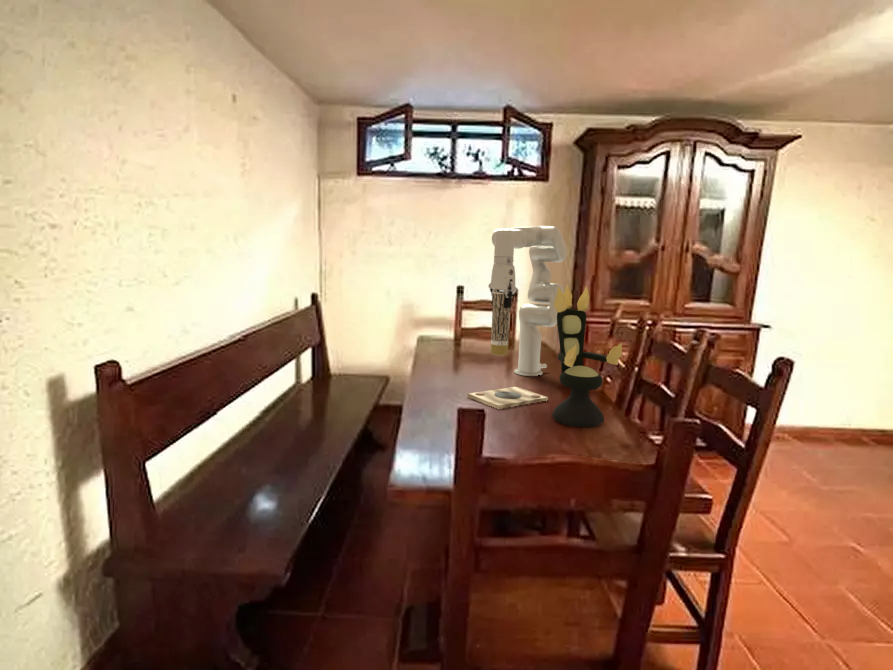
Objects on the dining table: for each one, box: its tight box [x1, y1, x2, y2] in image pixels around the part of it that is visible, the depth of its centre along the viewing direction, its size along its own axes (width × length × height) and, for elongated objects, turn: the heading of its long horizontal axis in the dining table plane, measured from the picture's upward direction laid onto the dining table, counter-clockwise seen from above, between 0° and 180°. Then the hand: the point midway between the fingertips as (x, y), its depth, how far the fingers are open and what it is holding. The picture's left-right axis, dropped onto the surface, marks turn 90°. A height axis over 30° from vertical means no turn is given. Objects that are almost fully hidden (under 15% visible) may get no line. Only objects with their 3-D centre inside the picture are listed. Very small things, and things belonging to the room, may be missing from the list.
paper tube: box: [490, 290, 511, 356], centre depth 234 cm, size 7×7×25 cm
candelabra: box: [552, 283, 623, 428], centre depth 194 cm, size 19×22×45 cm
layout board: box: [467, 386, 549, 410], centre depth 220 cm, size 24×18×2 cm
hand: (501, 306), depth 233 cm, fingers closed on paper tube, 6 cm apart
